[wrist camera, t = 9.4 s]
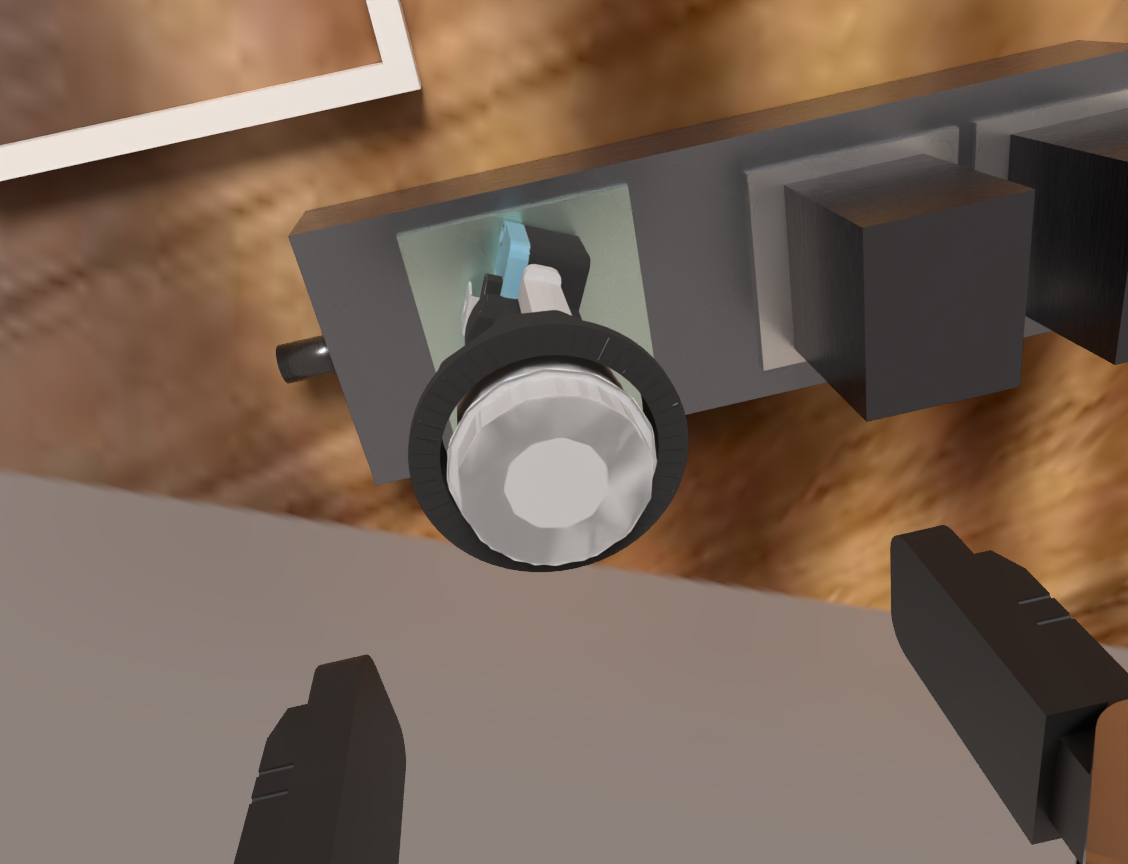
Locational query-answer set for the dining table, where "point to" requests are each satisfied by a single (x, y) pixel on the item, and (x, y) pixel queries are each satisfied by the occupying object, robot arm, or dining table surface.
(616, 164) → the power strip
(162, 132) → the empty frame
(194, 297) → the dining table surface
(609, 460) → the push button
